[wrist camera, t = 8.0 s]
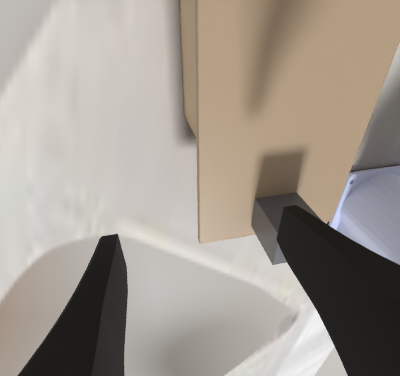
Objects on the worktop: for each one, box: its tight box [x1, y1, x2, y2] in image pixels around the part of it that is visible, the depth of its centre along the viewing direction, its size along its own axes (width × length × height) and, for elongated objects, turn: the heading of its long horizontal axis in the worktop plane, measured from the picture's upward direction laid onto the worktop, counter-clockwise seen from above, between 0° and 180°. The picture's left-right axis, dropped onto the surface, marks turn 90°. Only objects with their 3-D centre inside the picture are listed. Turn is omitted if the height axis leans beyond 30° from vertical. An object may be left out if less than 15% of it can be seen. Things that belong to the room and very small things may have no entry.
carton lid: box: [195, 0, 400, 265], centre depth 14 cm, size 14×10×4 cm
